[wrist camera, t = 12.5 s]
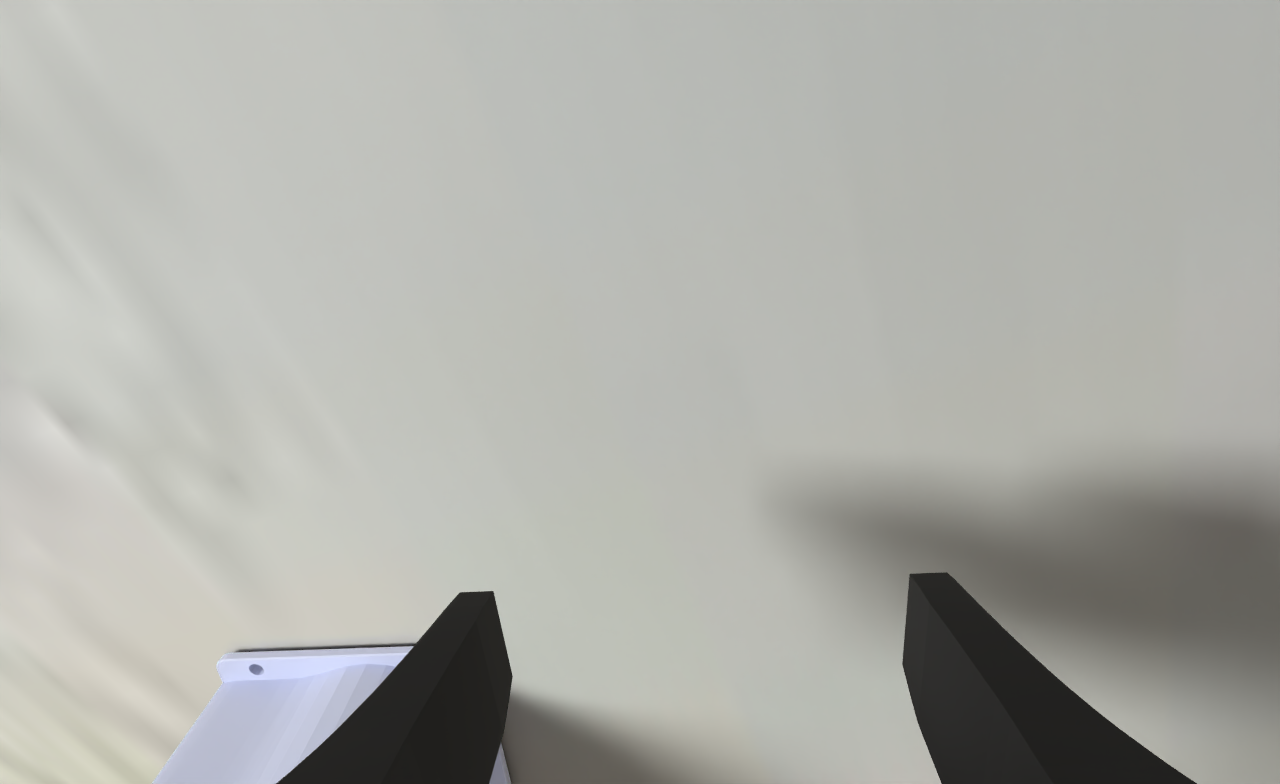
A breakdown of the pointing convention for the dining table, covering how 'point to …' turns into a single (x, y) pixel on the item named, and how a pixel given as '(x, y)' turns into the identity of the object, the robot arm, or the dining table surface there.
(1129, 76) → the dining table surface
